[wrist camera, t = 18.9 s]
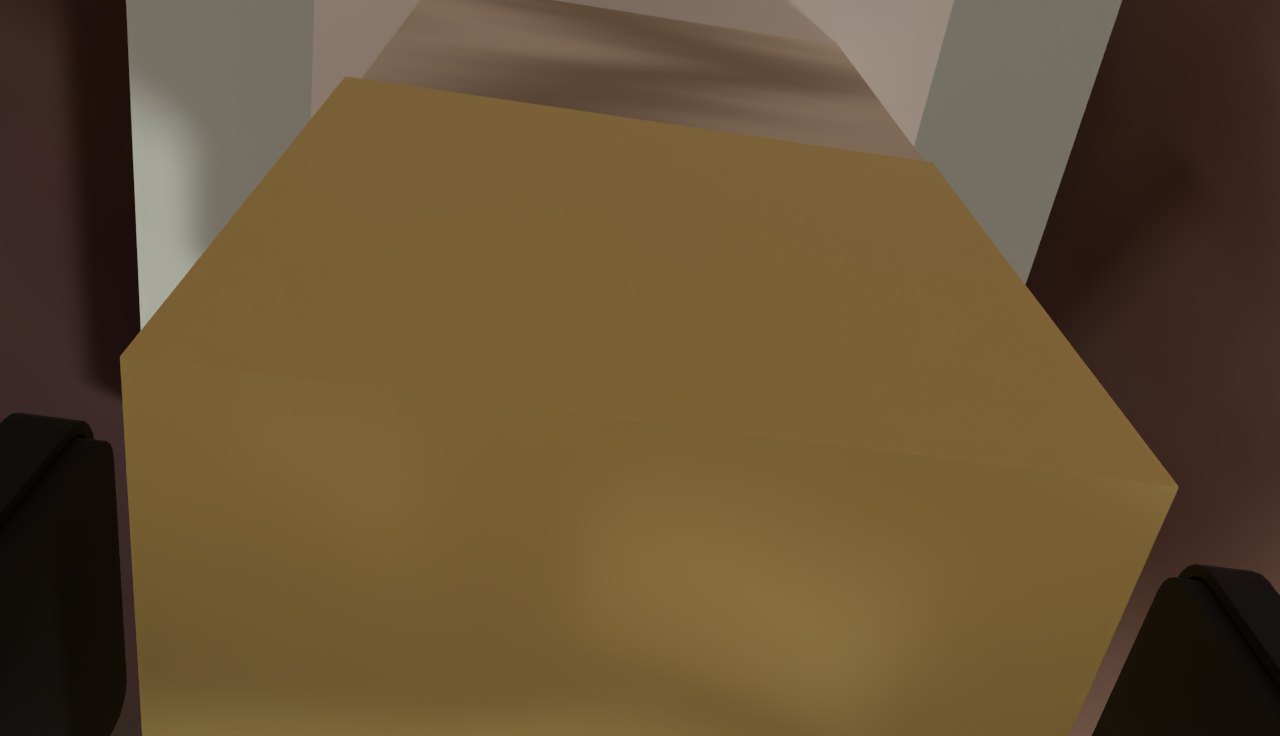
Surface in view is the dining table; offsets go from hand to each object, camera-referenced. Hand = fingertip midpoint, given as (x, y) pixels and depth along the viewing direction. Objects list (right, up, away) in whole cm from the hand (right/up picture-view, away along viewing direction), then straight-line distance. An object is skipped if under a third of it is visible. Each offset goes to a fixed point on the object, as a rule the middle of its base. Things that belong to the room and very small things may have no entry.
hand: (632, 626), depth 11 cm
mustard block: (0, +2, +4) cm, 4 cm away
